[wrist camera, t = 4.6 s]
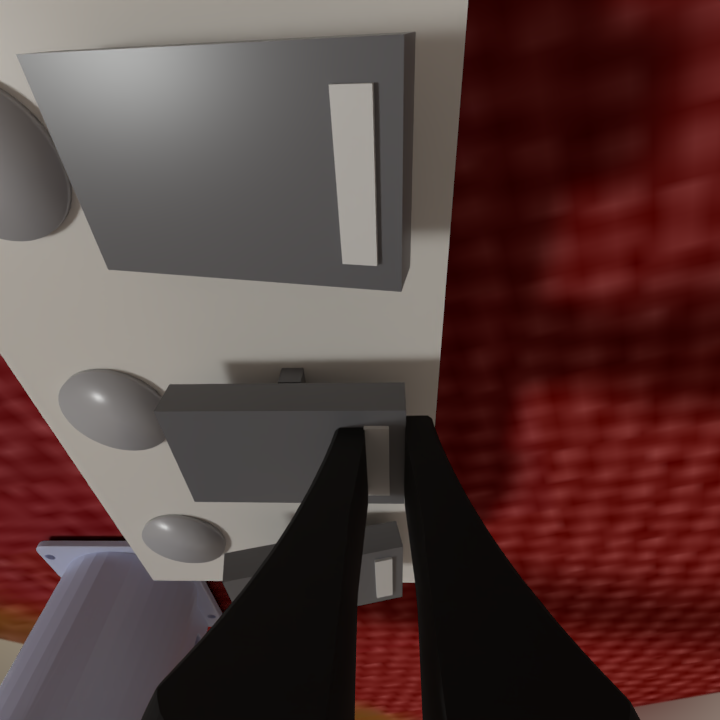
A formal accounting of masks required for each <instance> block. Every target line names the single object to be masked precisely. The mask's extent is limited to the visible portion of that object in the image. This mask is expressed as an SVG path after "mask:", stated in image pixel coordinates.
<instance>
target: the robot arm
mask: <svg viewBox="0 0 720 720" xmlns="http://www.w3.org/2000/svg"><path fill="white" fill-rule="evenodd" d="M404 502H405V511H406V519H407V526H408V534H409V542H410V549H411V557H412V564H413V572H414V579H415V587H416V596H417V607H418V626H419V646H420V668H421V689H422V713H423V720H640V719H639V717H638V715H637V713H636V711H635V709H634V708H633V706H632V704H631V702H630V701H629V700H628V699H627V697H626V696H625V695H624V694H623V693H622V692H621V691H620V690H619V689H618V688H617V687H616V686H615V685H614V684H613V683H612V682H611V681H610V680H609V679H608V678H607V677H606V676H605V675H604V673H603V672H602V671H601V670H600V669H599V668H598V667H597V666H596V665H595V664H594V663H593V662H592V661H591V659H590V658H589V657H588V656H587V655H586V654H585V653H584V652H583V651H582V650H581V649H580V647H579V646H578V645H577V644H576V643H575V642H574V641H573V639H572V638H571V637H570V636H569V635H568V634H567V633H566V632H565V630H564V629H563V628H562V627H561V626H560V625H559V624H558V622H557V621H556V620H555V619H554V618H553V616H552V615H551V614H550V613H549V611H548V610H547V609H546V608H545V606H544V605H543V604H542V603H541V602H540V600H539V599H538V598H537V597H536V595H535V594H534V593H533V592H532V590H531V589H530V588H529V587H528V586H527V584H526V583H525V582H524V581H523V579H522V578H521V577H520V575H519V574H518V573H517V571H516V570H515V568H514V567H513V566H512V564H511V563H510V562H509V560H508V559H507V558H506V556H505V555H504V553H503V552H502V550H501V549H500V548H499V546H498V545H497V543H496V542H495V540H494V539H493V537H492V536H491V534H490V533H489V531H488V530H487V528H486V527H485V525H484V524H483V522H482V520H481V519H480V517H479V515H478V514H477V512H476V511H475V509H474V507H473V506H472V504H471V502H470V500H469V499H468V497H467V495H466V493H465V492H464V490H463V488H462V486H461V484H460V482H459V480H458V478H457V477H456V475H455V473H454V471H453V469H452V467H451V465H450V463H449V461H448V459H447V456H446V454H445V452H444V450H443V448H442V445H441V443H440V440H439V438H438V435H437V433H436V430H435V427H434V424H433V420H432V418H431V417H429V416H428V415H414V416H406V427H405V464H404ZM367 510H368V477H367V461H366V444H365V430H364V428H338V429H337V430H335V432H334V435H333V438H332V440H331V443H330V445H329V448H328V450H327V452H326V455H325V457H324V459H323V461H322V464H321V466H320V468H319V470H318V472H317V474H316V476H315V478H314V480H313V482H312V484H311V486H310V488H309V490H308V491H307V493H306V495H305V497H304V498H303V500H302V502H301V504H300V506H299V507H298V509H297V511H296V513H295V514H294V516H293V518H292V519H291V521H290V523H289V524H288V526H287V527H286V529H285V531H284V532H283V534H282V535H281V537H280V538H279V540H278V541H277V543H276V544H275V546H274V547H273V549H272V550H271V552H270V553H269V555H268V556H267V557H266V559H265V560H264V561H263V563H262V564H261V566H260V567H259V568H258V570H257V571H256V572H255V574H254V575H253V577H252V578H251V579H250V581H249V582H248V583H247V584H246V586H245V587H244V588H243V590H242V591H241V592H240V593H239V595H238V596H237V597H236V598H235V600H234V601H233V602H232V603H231V604H230V606H229V607H228V608H227V609H226V610H225V611H224V613H223V614H222V612H221V610H220V608H219V606H218V604H217V602H216V600H215V599H214V597H213V595H212V593H211V591H210V589H209V587H208V585H207V583H206V582H205V581H165V580H153V579H152V578H151V576H150V575H149V573H148V572H147V570H146V569H145V567H144V566H143V564H142V563H141V561H140V560H139V558H138V557H137V555H136V554H135V552H134V551H133V550H132V548H131V547H130V545H129V544H128V542H127V541H47V540H46V541H42V542H40V543H39V545H38V546H37V548H36V550H37V552H38V553H39V554H40V555H41V556H42V557H43V559H44V560H45V561H46V562H47V563H48V564H49V565H50V566H51V567H52V568H53V569H54V570H55V572H56V573H57V574H58V575H59V576H60V577H61V579H60V581H59V583H58V585H57V587H56V588H55V590H54V592H53V594H52V595H51V597H50V599H49V601H48V602H47V604H46V606H45V608H44V610H43V611H42V613H41V615H40V617H39V618H38V620H37V622H36V624H35V625H34V627H33V629H32V631H31V632H30V634H29V636H28V638H27V640H26V641H25V643H24V645H23V647H22V648H21V650H20V652H19V654H18V655H17V657H16V659H15V661H14V663H13V664H12V666H11V668H10V670H9V671H8V673H7V675H6V677H5V678H4V680H3V682H2V684H1V685H0V720H354V716H355V672H356V634H357V604H358V591H359V581H360V572H361V563H362V554H363V545H364V537H365V528H366V519H367ZM208 626H212V627H211V628H210V629H209V631H208V632H207V629H208Z"/></svg>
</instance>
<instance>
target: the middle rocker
mask: <svg viewBox="0 0 720 720" xmlns="http://www.w3.org/2000/svg"><path fill="white" fill-rule="evenodd" d="M153 412H154V414H155V416H156V418H157V421H158V423H159V425H160V427H161V429H162V432H163V434H164V436H165V438H166V440H167V442H168V445H169V447H170V449H171V451H172V453H173V456H174V458H175V460H176V462H177V464H178V466H179V469H180V471H181V473H182V475H183V477H184V480H185V482H186V484H187V486H188V488H189V490H190V493H191V495H192V497H193V499H194V501H195V502H254V503H301V502H302V500H303V498H304V497H305V495H306V493H307V491H308V490H309V488H310V486H311V484H312V482H313V480H314V478H315V476H316V474H317V472H318V470H319V468H320V466H321V464H322V461H323V459H324V457H325V455H326V452H327V450H328V448H329V445H330V443H331V440H332V438H333V435H334V432H335V430H337V429H338V428H364V430H365V444H366V461H367V477H368V504H404V464H405V427H406V399H405V382H382V383H262V384H169V386H168V388H167V389H166V391H165V393H164V394H163V396H162V398H161V400H160V401H159V403H158V405H157V406H156V408H155V410H154V411H153Z"/></svg>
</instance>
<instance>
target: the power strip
mask: <svg viewBox="0 0 720 720" xmlns="http://www.w3.org/2000/svg"><path fill="white" fill-rule="evenodd" d="M467 10H468V0H0V354H1V355H2V357H3V358H4V360H5V361H6V363H7V364H8V366H9V367H10V369H11V370H12V372H13V373H14V375H15V376H16V377H17V379H18V380H19V382H20V383H21V385H22V386H23V388H24V389H25V391H26V392H27V394H28V395H29V397H30V398H31V400H32V401H33V403H34V404H35V406H36V407H37V409H38V410H39V412H40V413H41V415H42V416H43V418H44V419H45V421H46V422H47V423H48V425H49V426H50V428H51V429H52V431H53V432H54V434H55V435H56V437H57V438H58V440H59V441H60V443H61V444H62V446H63V447H64V449H65V450H66V452H67V453H68V455H69V456H70V458H71V459H72V461H73V462H74V464H75V465H76V466H77V468H78V469H79V471H80V472H81V474H82V475H83V477H84V478H85V480H86V481H87V483H88V484H89V486H90V487H91V489H92V490H93V492H94V493H95V495H96V496H97V498H98V499H99V501H100V502H101V504H102V505H103V507H104V508H105V509H106V511H107V512H108V514H109V515H110V517H111V518H112V520H113V521H114V523H115V524H116V526H117V527H118V529H119V530H120V532H121V533H122V535H123V536H124V538H125V539H126V541H127V542H128V544H129V545H130V547H131V548H132V550H133V551H134V552H135V554H136V555H137V557H138V558H139V560H140V561H141V563H142V564H143V566H144V567H145V569H146V570H147V572H148V573H149V575H150V576H151V578H152V579H153V580H165V581H223V566H224V553H229V552H234V551H239V550H245V549H250V548H255V547H260V546H266V545H271V544H276V543H277V541H278V540H279V538H280V537H281V535H282V534H283V532H284V531H285V529H286V527H287V526H288V524H289V523H290V521H291V519H292V518H293V516H294V514H295V513H296V511H297V509H298V507H299V506H300V504H301V503H254V502H195V501H194V499H193V497H192V495H191V493H190V490H189V488H188V486H187V484H186V482H185V480H184V477H183V475H182V473H181V471H180V469H179V466H178V464H177V462H176V460H175V458H174V456H173V453H172V451H171V449H170V447H169V445H168V442H167V440H166V438H165V436H164V434H163V432H162V429H161V427H160V425H159V423H158V421H157V418H156V416H155V414H154V412H153V411H154V410H155V408H156V406H157V405H158V403H159V401H160V400H161V398H162V396H163V394H164V393H165V391H166V389H167V388H168V386H169V384H262V383H382V382H405V399H406V416H414V415H428V416H429V417H431V418H432V420H433V424H434V427H435V418H436V405H437V393H438V380H439V367H440V354H441V342H442V329H443V316H444V303H445V291H446V278H447V265H448V252H449V240H450V227H451V214H452V201H453V189H454V176H455V163H456V150H457V138H458V125H459V112H460V99H461V86H462V74H463V61H464V48H465V35H466V23H467ZM397 32H416V38H415V81H414V125H413V168H412V212H411V255H410V269H409V272H408V274H407V277H406V280H405V283H404V286H403V289H402V292H396V291H383V290H370V289H356V288H343V287H330V286H317V285H304V284H290V283H277V282H264V281H251V280H238V279H224V278H211V277H198V276H185V275H171V274H158V273H145V272H132V271H119V270H108V268H107V266H106V263H105V261H104V259H103V256H102V254H101V252H100V249H99V247H98V245H97V242H96V240H95V238H94V235H93V233H92V231H91V228H90V226H89V224H88V221H87V219H86V217H85V214H84V212H83V210H82V207H81V205H80V203H79V200H78V198H77V196H76V193H75V191H74V189H73V186H72V184H71V182H70V179H69V177H68V175H67V172H66V170H65V168H64V165H63V163H62V161H61V158H60V156H59V154H58V151H57V149H56V147H55V144H54V142H53V140H52V137H51V135H50V133H49V130H48V128H47V126H46V123H45V121H44V119H43V116H42V114H41V112H40V109H39V107H38V105H37V102H36V100H35V98H34V95H33V93H32V91H31V88H30V86H29V84H28V81H27V79H26V77H25V74H24V72H23V70H22V67H21V65H20V63H19V60H18V58H17V56H16V54H26V53H37V52H49V51H60V50H76V49H95V48H114V47H133V46H152V45H170V44H189V43H208V42H227V41H246V40H265V39H284V38H303V37H321V36H340V35H359V34H378V33H397ZM392 521H396V522H397V526H398V529H399V533H400V537H401V540H402V544H403V580H402V583H415V579H414V572H413V564H412V557H411V549H410V542H409V534H408V526H407V519H406V511H405V502H404V504H368V510H367V519H366V526H371V525H376V524H381V523H386V522H392Z"/></svg>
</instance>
